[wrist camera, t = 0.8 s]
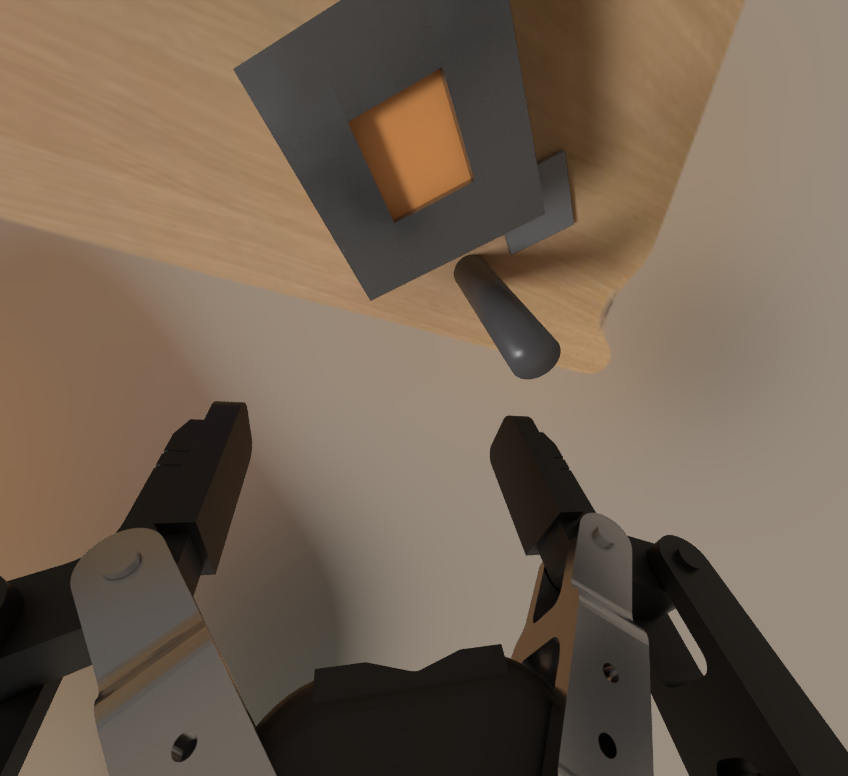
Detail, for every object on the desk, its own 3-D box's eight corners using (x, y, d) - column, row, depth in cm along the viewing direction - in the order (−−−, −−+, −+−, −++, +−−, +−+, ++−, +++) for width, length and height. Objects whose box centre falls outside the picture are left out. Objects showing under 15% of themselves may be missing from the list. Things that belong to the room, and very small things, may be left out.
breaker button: (423, 68, 20) (439, 59, 17) (455, 169, 24) (474, 180, 20) (341, 116, 21) (339, 117, 17) (384, 207, 24) (389, 224, 21)
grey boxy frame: (440, -20, 21) (492, -97, 13) (492, 186, 28) (545, 213, 21) (273, 83, 22) (233, 69, 15) (365, 252, 30) (370, 300, 22)
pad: (561, 150, 27) (565, 151, 27) (570, 222, 31) (573, 224, 31) (492, 186, 28) (494, 187, 28) (509, 252, 32) (511, 254, 32)
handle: (480, 248, 31) (556, 327, 20) (490, 278, 33) (563, 366, 22) (449, 264, 32) (504, 350, 20) (460, 293, 34) (516, 386, 22)
